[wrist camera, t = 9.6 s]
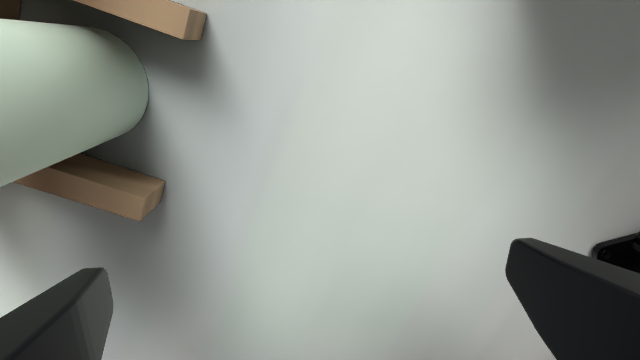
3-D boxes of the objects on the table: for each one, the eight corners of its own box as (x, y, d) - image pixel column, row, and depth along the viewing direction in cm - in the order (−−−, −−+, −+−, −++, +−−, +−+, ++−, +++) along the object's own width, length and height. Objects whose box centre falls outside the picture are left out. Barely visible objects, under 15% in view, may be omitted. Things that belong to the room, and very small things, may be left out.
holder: (216, -26, 18) (154, -68, 12) (153, 230, 22) (78, 310, 15) (-7, -110, 17) (-213, -207, 11) (-33, 172, 21) (-197, 230, 14)
